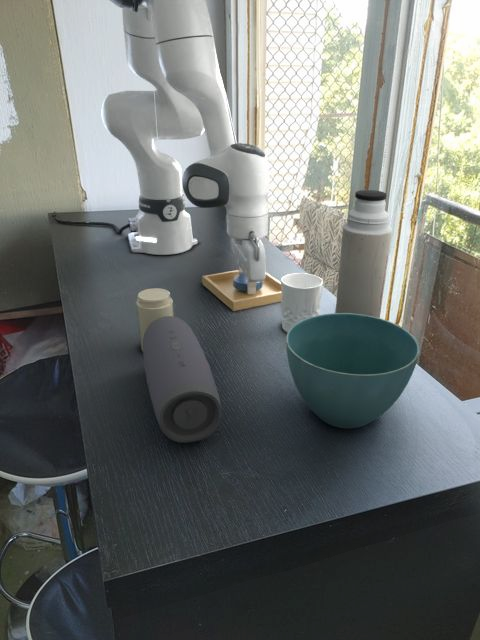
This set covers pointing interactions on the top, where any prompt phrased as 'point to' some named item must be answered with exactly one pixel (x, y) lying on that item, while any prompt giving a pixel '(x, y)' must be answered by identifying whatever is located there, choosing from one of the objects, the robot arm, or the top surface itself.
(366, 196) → the thermos bottle
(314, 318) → the teal bowl
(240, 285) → the jar lid
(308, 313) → the white cup
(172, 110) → the robot arm
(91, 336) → the top surface
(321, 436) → the top surface
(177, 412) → the bluetooth speaker
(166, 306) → the jar
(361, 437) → the top surface
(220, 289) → the tray
